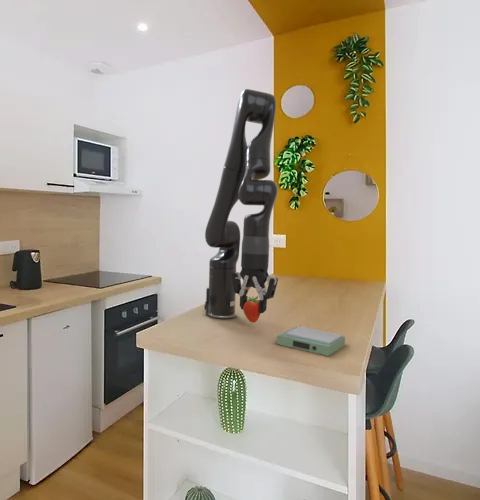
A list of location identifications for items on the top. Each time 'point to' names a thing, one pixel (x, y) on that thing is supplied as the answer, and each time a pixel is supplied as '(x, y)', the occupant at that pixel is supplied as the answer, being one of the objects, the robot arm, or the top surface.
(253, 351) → the top surface
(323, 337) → the scale
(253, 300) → the fruit
